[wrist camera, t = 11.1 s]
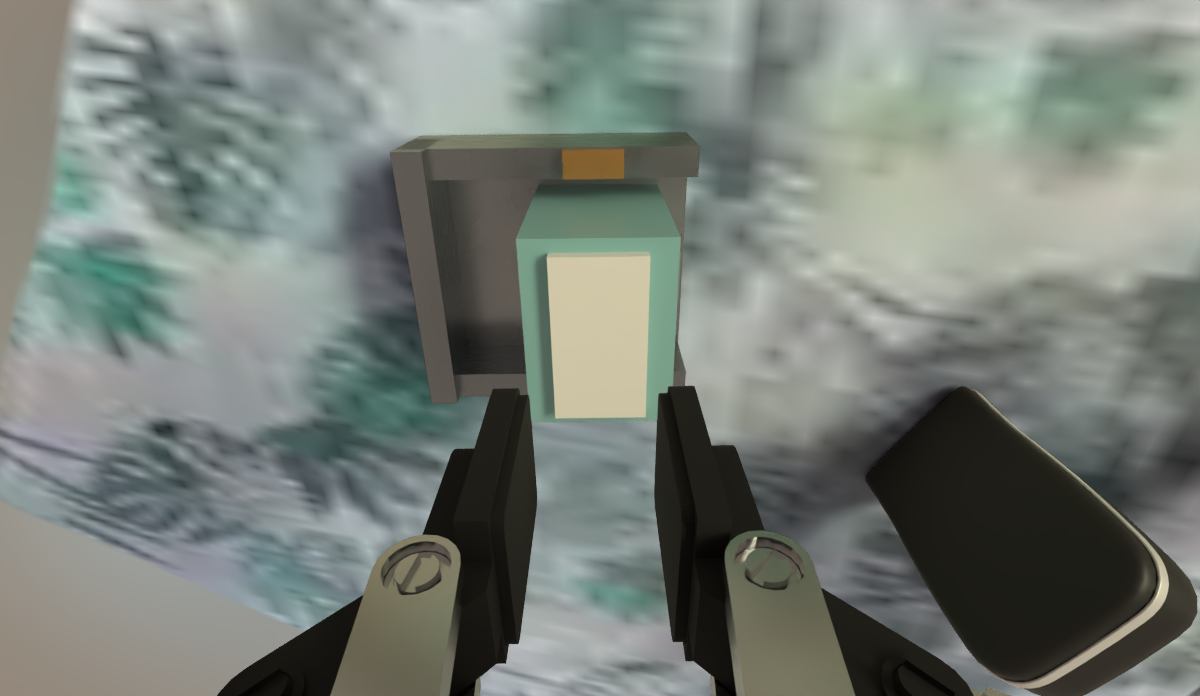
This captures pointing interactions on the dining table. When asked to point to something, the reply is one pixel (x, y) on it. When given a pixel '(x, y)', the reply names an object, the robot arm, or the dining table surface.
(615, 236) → the block
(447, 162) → the tray
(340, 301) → the dining table surface
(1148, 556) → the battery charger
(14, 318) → the dining table surface
